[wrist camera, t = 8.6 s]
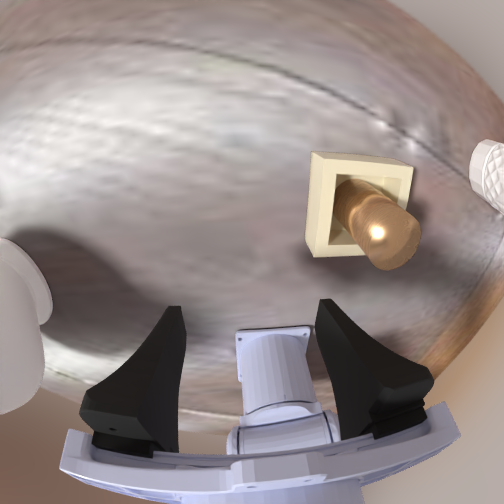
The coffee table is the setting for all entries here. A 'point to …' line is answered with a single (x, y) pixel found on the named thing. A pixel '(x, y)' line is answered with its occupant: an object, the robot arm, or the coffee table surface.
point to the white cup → (488, 173)
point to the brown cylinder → (376, 224)
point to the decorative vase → (21, 325)
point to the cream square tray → (323, 188)
